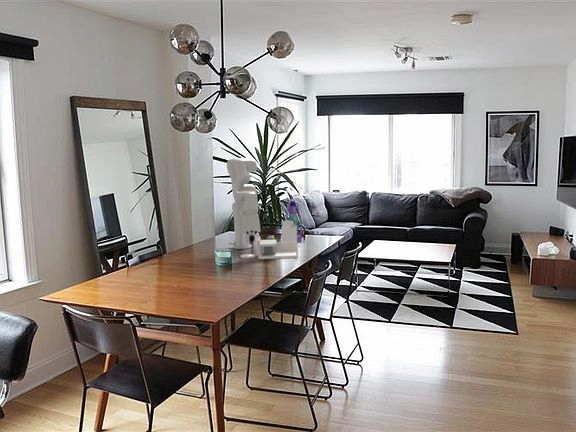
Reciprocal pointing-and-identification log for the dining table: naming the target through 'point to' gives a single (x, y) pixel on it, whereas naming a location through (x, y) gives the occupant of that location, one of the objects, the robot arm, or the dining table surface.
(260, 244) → the cover
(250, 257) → the white flat disc
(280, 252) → the frame with rectangular opening
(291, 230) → the milk carton
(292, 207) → the lantern
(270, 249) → the block
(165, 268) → the dining table surface
